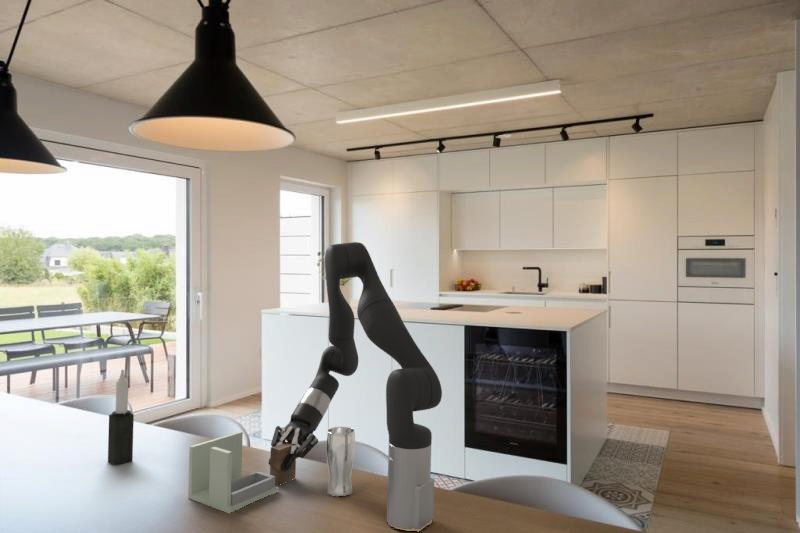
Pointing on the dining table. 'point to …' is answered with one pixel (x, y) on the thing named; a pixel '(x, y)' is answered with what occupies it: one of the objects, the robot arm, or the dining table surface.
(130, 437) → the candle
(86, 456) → the dining table surface
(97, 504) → the dining table surface
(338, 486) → the beer glass
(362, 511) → the dining table surface
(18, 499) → the dining table surface
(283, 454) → the brown wooden block
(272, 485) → the sage green display stand
